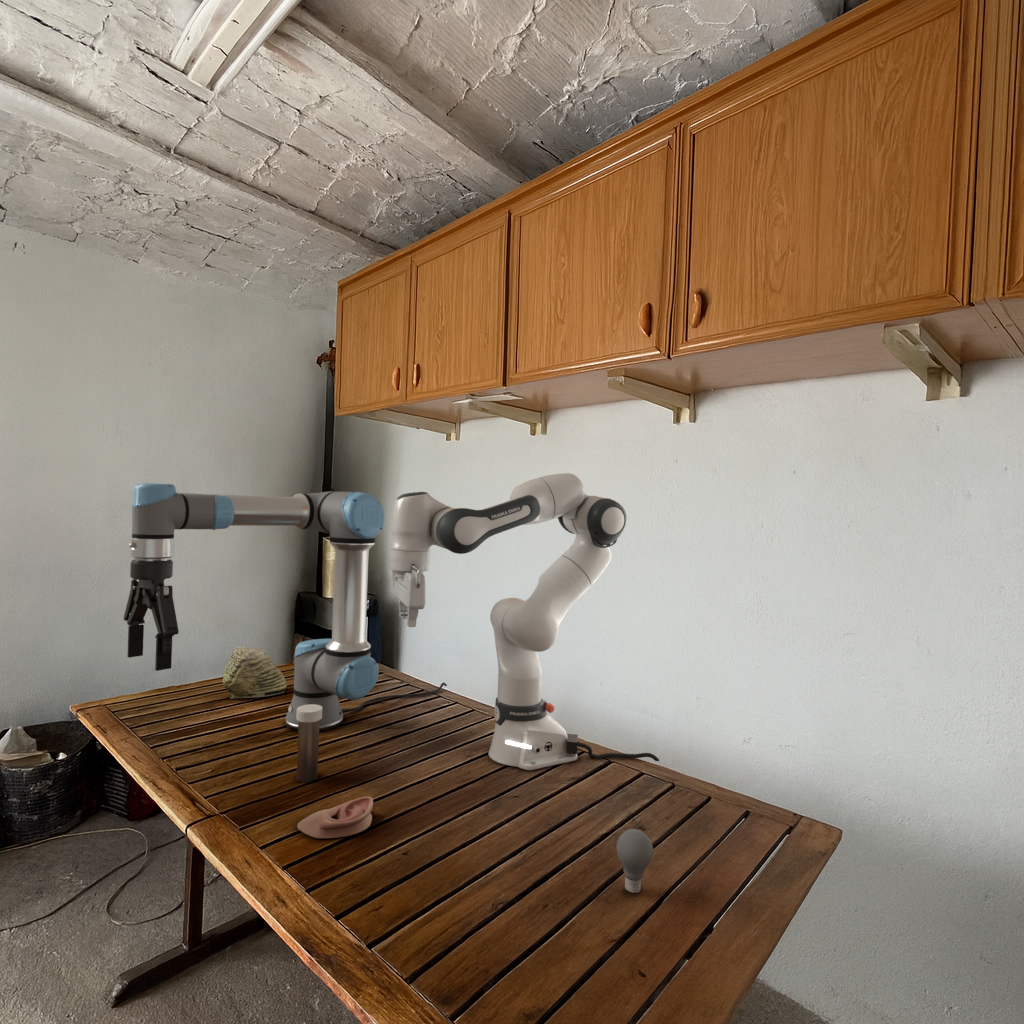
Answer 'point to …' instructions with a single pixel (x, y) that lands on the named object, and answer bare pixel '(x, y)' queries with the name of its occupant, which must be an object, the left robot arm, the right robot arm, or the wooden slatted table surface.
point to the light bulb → (634, 857)
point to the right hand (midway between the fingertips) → (407, 622)
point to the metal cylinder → (307, 751)
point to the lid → (309, 713)
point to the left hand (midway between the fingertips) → (148, 662)
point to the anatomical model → (339, 819)
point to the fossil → (252, 674)
